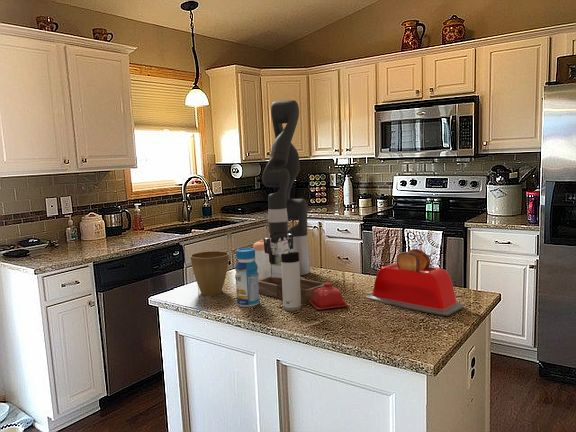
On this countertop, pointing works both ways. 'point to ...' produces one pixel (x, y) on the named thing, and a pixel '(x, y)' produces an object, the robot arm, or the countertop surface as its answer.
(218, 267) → the plant pot
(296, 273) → the travel mug
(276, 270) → the syrup box
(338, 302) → the butter dish
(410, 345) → the countertop surface
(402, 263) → the toaster
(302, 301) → the wooden tray
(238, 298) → the beverage bottle
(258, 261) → the salt shaker
